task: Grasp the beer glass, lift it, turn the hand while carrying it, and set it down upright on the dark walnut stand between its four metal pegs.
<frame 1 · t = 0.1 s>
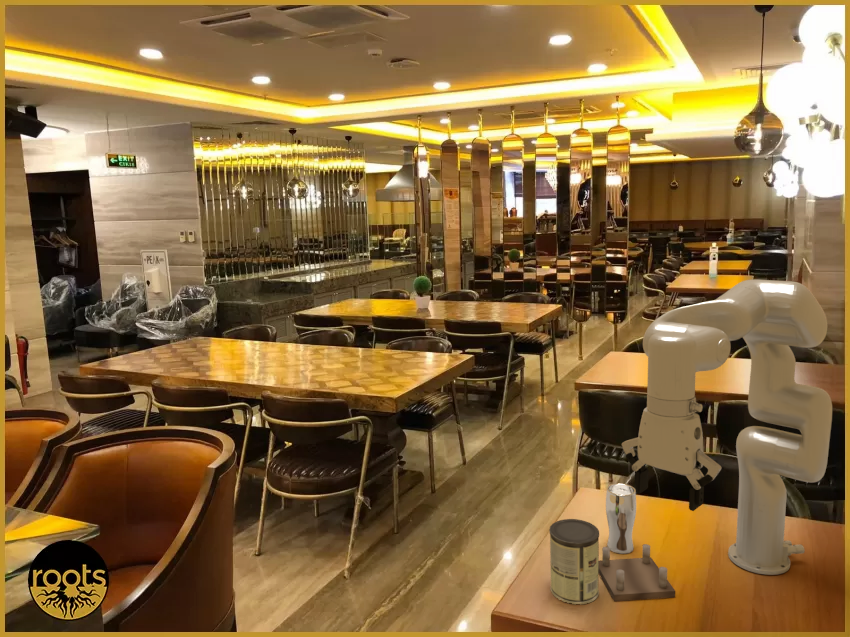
hand: (667, 499, 111), 31 cm above the table, tool pointing down, fingers open, 9 cm apart
peg stand: (633, 581, 141), on the table
coffee can: (574, 591, 138), on the table
beer glass: (620, 548, 154), on the table
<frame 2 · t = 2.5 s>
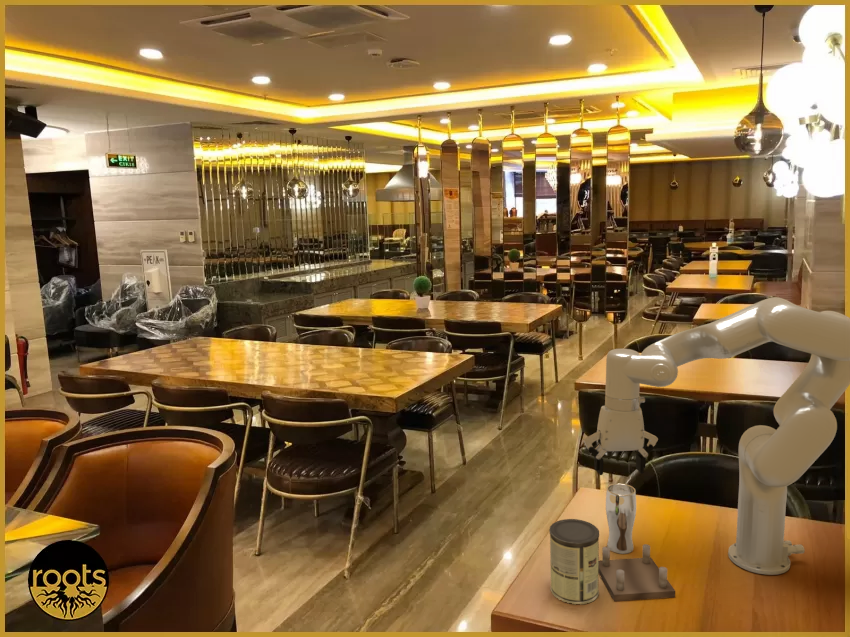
hand: (619, 471, 151), 19 cm above the table, tool pointing down, fingers open, 9 cm apart
nothing on the table moved.
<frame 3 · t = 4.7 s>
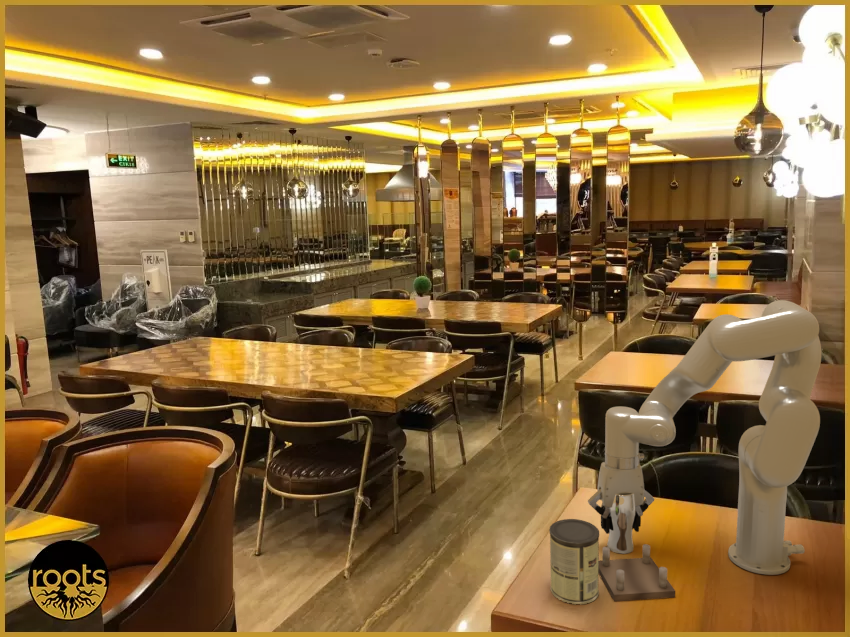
hand: (620, 529, 154), 5 cm above the table, tool pointing down, fingers closed on beer glass, 6 cm apart
beer glass: (620, 548, 154), on the table, touching gripper
everything else where it was.
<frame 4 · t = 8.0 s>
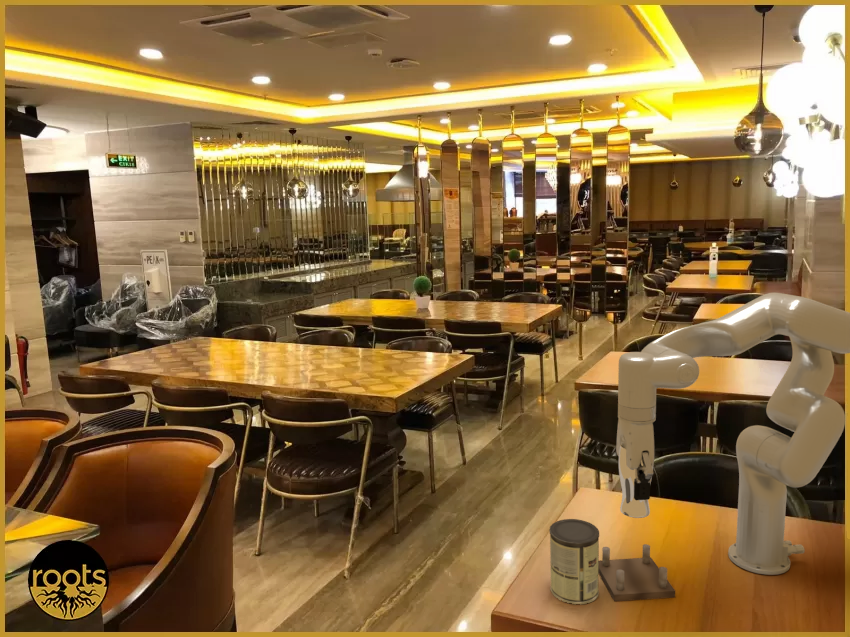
hand: (635, 491, 137), 21 cm above the table, tool pointing down, fingers closed on beer glass, 6 cm apart
beer glass: (634, 512, 138), point 16 cm above the table, touching gripper
everything else where it was.
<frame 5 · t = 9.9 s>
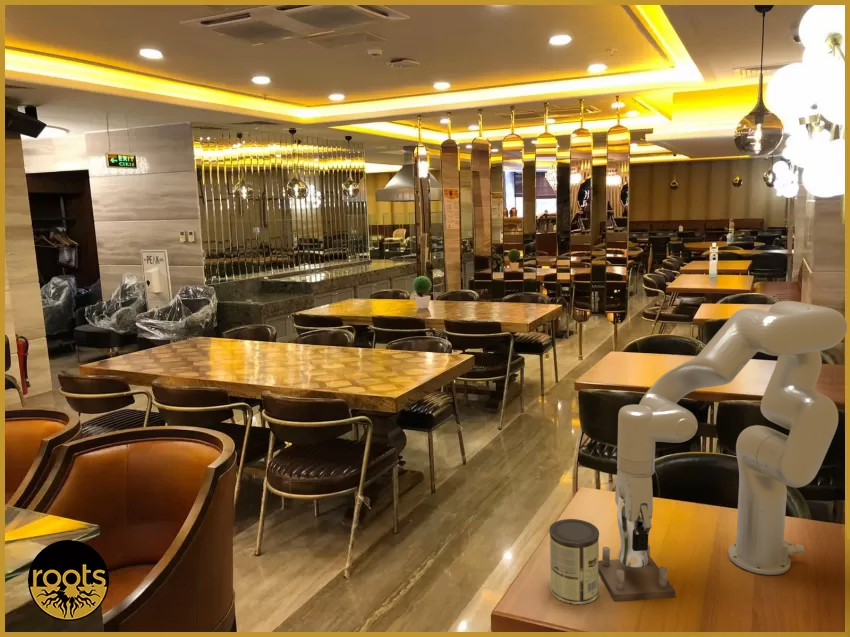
hand: (633, 540, 139), 10 cm above the table, tool pointing down, fingers closed on beer glass, 6 cm apart
beer glass: (633, 561, 140), point 5 cm above the table, touching gripper
everything else where it was.
when the fingers open (7 cm above the table, at t = 11.3 s): beer glass drops 1 cm, resting on peg stand.
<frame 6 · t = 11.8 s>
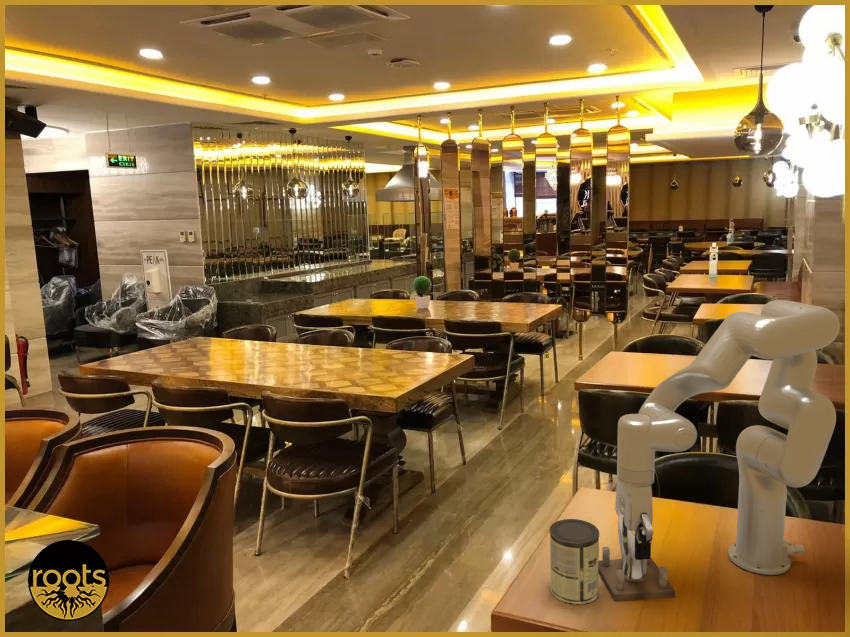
hand: (634, 546, 139), 8 cm above the table, tool pointing down, fingers open, 9 cm apart
beer glass: (633, 575, 140), point 1 cm above the table, touching peg stand
everything else where it was.
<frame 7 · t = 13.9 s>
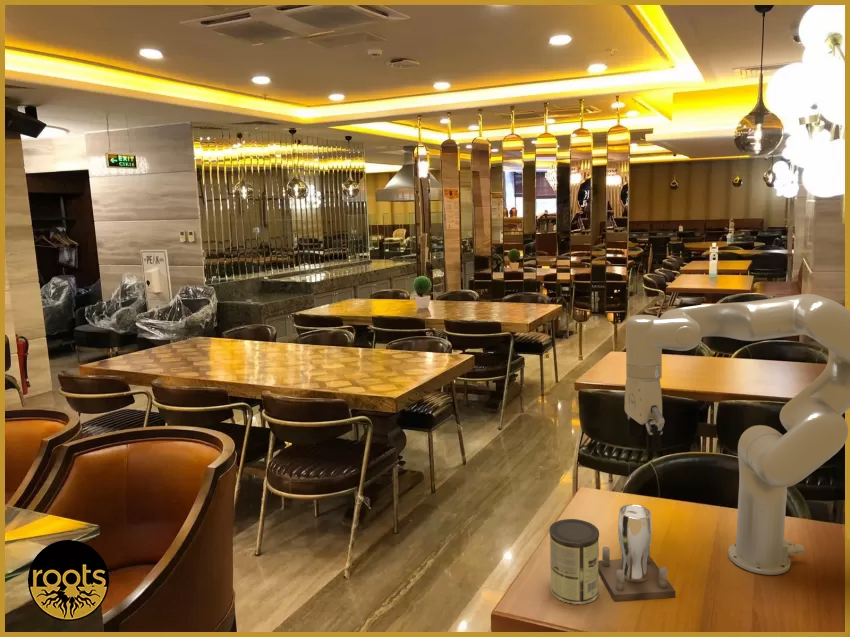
hand: (644, 443, 146), 28 cm above the table, tool pointing down, fingers open, 9 cm apart
nothing on the table moved.
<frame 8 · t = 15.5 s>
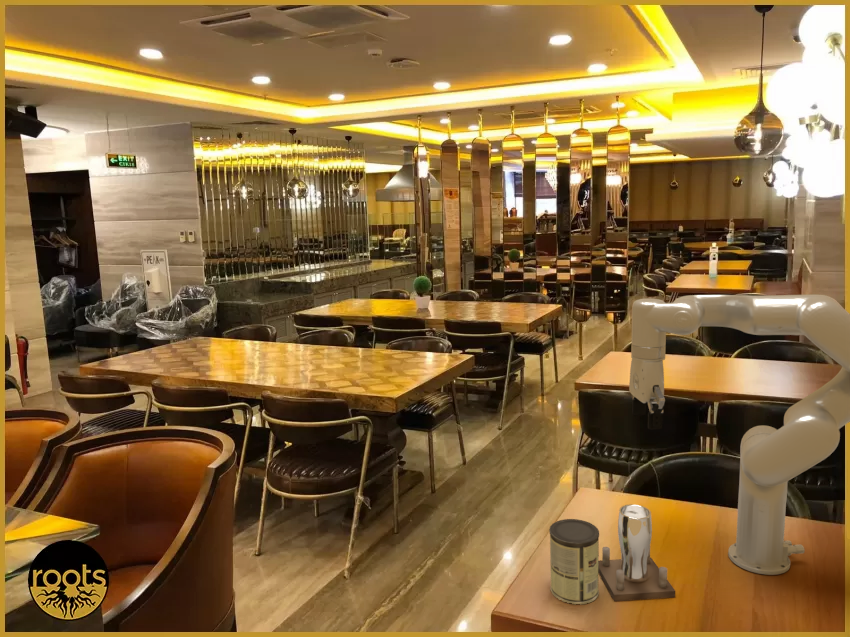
hand: (646, 421, 152), 30 cm above the table, tool pointing down, fingers open, 9 cm apart
nothing on the table moved.
at the end: beer glass 0.1 cm off-centre on the peg stand, point 1.3 cm above the peg stand's base; beer glass tilted 0°; the gripper is holding nothing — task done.
